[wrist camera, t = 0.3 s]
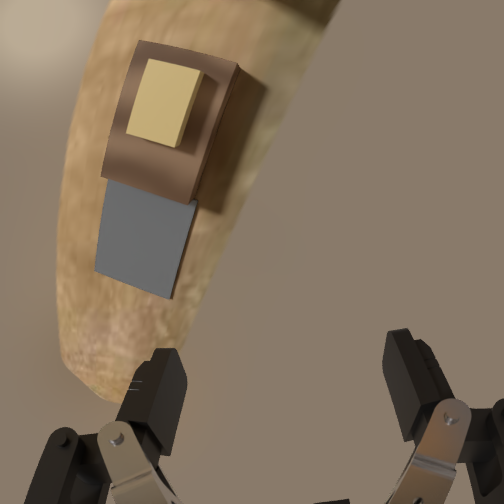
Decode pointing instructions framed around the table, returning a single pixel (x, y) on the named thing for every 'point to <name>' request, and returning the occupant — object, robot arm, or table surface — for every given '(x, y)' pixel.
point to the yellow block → (164, 102)
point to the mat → (142, 238)
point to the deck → (194, 137)
